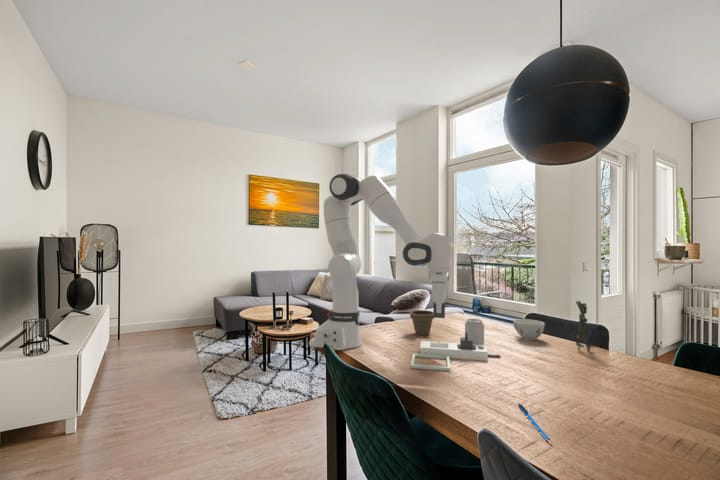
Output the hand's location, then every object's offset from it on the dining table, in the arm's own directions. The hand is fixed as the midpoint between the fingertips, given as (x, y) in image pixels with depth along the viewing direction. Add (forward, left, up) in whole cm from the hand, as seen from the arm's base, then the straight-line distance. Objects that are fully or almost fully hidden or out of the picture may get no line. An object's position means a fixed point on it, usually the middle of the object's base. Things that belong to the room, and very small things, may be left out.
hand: (438, 311), depth 136 cm
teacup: (+39, +35, -17) cm, 55 cm away
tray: (-3, -12, -17) cm, 21 cm away
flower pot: (-8, +33, -17) cm, 38 cm away
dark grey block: (0, 0, -2) cm, 2 cm away
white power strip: (+8, 0, -17) cm, 19 cm away
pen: (+22, -47, -18) cm, 55 cm away
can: (+14, +12, -17) cm, 26 cm away
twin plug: (+10, 0, -16) cm, 19 cm away
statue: (+57, +19, -17) cm, 63 cm away
